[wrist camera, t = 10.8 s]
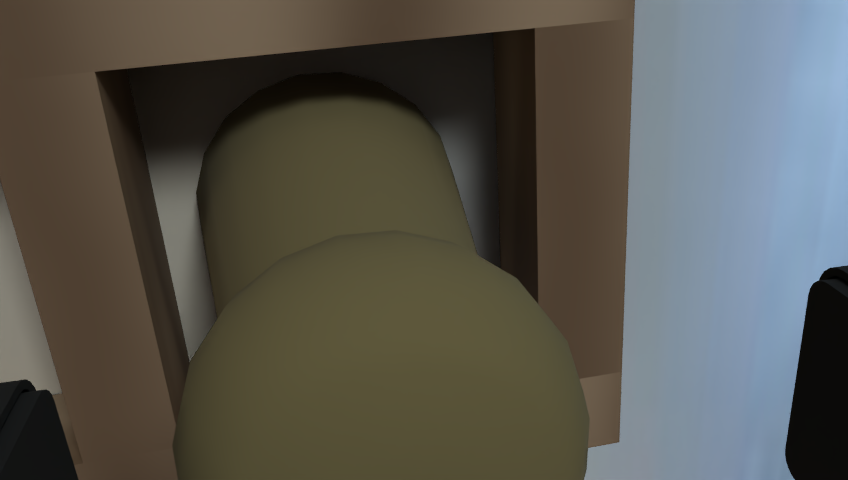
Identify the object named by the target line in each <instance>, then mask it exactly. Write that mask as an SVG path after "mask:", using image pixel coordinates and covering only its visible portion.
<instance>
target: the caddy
mask: <svg viewBox="0 0 848 480" xmlns="http://www.w3.org/2000/svg"><path fill="white" fill-rule="evenodd" d="M634 8H635V0H0V180H1V184H2V187H3V191H4V194H5V198H6V201H7V204H8V208H9V211H10V215H11V218H12V222H13V225H14V228H15V232H16V235H17V239H18V242H19V246H20V249H21V252H22V256H23V259H24V263H25V266H26V269H27V273H28V276H29V280H30V283H31V287H32V290H33V293H34V297H35V300H36V304H37V307H38V311H39V314H40V317H41V321H42V324H43V328H44V331H45V335H46V338H47V341H48V345H49V348H50V352H51V355H52V359H53V362H54V365H55V369H56V372H57V376H58V379H59V383H60V386H61V389H62V394H56V395H52V396H53V399H54V401H55V404H56V408H57V411H58V414H59V417H60V421H61V424H62V427H63V430H64V434H65V437H66V440H67V443H68V447H69V450H70V453H71V457H72V460H73V463H74V466H75V470H76V473H77V476H78V479H79V480H178V476H177V471H176V465H175V460H174V454H173V448H172V444H173V439H174V434H175V429H176V424H177V419H178V414H179V409H180V405H181V400H182V396H183V391H184V387H185V382H186V377H187V373H188V368H189V364H190V362H189V358H188V353H187V348H186V344H185V339H184V334H183V330H182V325H181V320H180V316H179V311H178V306H177V302H176V297H175V292H174V287H173V283H172V278H171V273H170V269H169V264H168V259H167V255H166V250H165V245H164V241H163V236H162V231H161V227H160V222H159V217H158V213H157V208H156V203H155V199H154V194H153V189H152V185H151V180H150V175H149V170H148V166H147V161H146V156H145V152H144V147H143V142H142V138H141V133H140V128H139V124H138V119H137V114H136V110H135V105H134V100H133V96H132V91H131V86H130V82H129V77H128V72H127V68H137V67H147V66H158V65H168V64H178V63H188V62H198V61H208V60H218V59H228V58H238V57H248V56H258V55H268V54H278V53H289V52H299V51H309V50H319V49H329V48H339V47H349V46H359V45H369V44H379V43H389V42H399V41H409V40H420V39H430V38H440V37H450V36H460V35H470V34H480V33H490V32H493V48H494V79H495V109H496V140H497V170H498V201H499V231H500V262H501V269H502V270H504V271H505V272H507V273H509V274H510V275H512V276H514V277H515V278H517V279H518V280H519V281H520V283H521V284H522V285H523V286H524V287H525V289H526V290H527V291H528V292H529V294H530V295H531V296H532V297H533V298H534V300H535V301H536V302H537V303H538V305H539V306H540V307H541V308H542V309H543V311H544V312H545V313H546V314H547V316H548V317H549V318H550V319H551V321H552V322H553V323H554V324H555V326H556V327H557V328H558V330H559V331H560V332H561V334H562V335H563V336H564V337H565V339H566V340H567V341H568V345H569V348H570V351H571V354H572V357H573V360H574V363H575V367H576V370H577V373H578V376H579V379H580V382H581V386H582V389H583V392H584V396H585V400H586V405H587V409H588V413H589V417H590V423H589V438H588V448H590V447H596V446H601V445H606V444H612V443H617V442H619V433H620V405H621V377H622V348H623V320H624V292H625V263H626V235H627V207H628V178H629V150H630V121H631V93H632V65H633V36H634Z"/></svg>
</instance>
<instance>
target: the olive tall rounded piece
mask: <svg viewBox="0 0 848 480" xmlns="http://www.w3.org/2000/svg"><path fill="white" fill-rule="evenodd" d="M196 194H197V201H198V208H199V215H200V222H201V229H202V235H203V241H204V246H205V252H206V258H207V263H208V269H209V274H210V280H211V285H212V291H213V297H214V302H215V308H216V313H217V320H216V322H215V323H214V325H213V327H212V328H211V330H210V331H209V333H208V334H207V336H206V337H205V339H204V341H203V342H202V344H201V345H200V347H199V348H198V350H197V351H196V353H195V355H194V356H193V358H192V359H191V361H190V364H189V368H188V373H187V377H186V382H185V387H184V391H183V396H182V400H181V405H180V409H179V414H178V419H177V424H176V429H175V434H174V439H173V444H172V448H173V454H174V460H175V465H176V471H177V476H178V480H584V477H585V473H586V469H587V453H588V438H589V423H590V417H589V413H588V409H587V405H586V400H585V396H584V392H583V389H582V386H581V382H580V379H579V376H578V373H577V370H576V367H575V363H574V360H573V357H572V354H571V351H570V348H569V345H568V341H567V340H566V339H565V337H564V336H563V335H562V334H561V332H560V331H559V330H558V328H557V327H556V326H555V324H554V323H553V322H552V321H551V319H550V318H549V317H548V316H547V314H546V313H545V312H544V311H543V309H542V308H541V307H540V306H539V305H538V303H537V302H536V301H535V300H534V298H533V297H532V296H531V295H530V294H529V292H528V291H527V290H526V289H525V287H524V286H523V285H522V284H521V283H520V281H519V280H518V279H517V278H515V277H514V276H512V275H510V274H509V273H507V272H505V271H504V270H502V269H500V268H498V267H497V266H495V265H493V264H492V263H490V262H488V261H487V260H485V259H483V258H481V257H480V256H478V254H477V251H476V248H475V244H474V241H473V238H472V234H471V231H470V228H469V225H468V221H467V218H466V215H465V211H464V208H463V205H462V201H461V198H460V195H459V191H458V188H457V185H456V182H455V178H454V175H453V172H452V169H451V166H450V163H449V160H448V157H447V155H446V152H445V149H444V146H443V143H442V140H441V138H440V135H439V134H438V133H437V132H436V130H435V129H434V128H433V127H432V125H431V124H430V123H429V121H428V120H427V119H426V118H425V116H424V115H423V114H422V113H421V111H420V110H419V109H418V108H417V106H416V105H415V104H413V103H412V102H410V101H408V100H407V99H405V98H404V97H402V96H401V95H399V94H398V93H396V92H395V91H393V90H392V89H390V88H388V87H387V86H385V85H384V84H382V83H379V82H376V81H372V80H368V79H364V78H360V77H357V76H353V75H349V74H345V73H341V72H339V73H322V74H305V75H297V76H294V77H292V78H289V79H287V80H284V81H281V82H279V83H276V84H274V85H271V86H269V87H266V88H264V89H261V90H259V91H257V92H256V93H255V94H254V95H252V96H251V97H250V98H249V99H248V100H246V101H245V102H244V103H243V104H242V105H240V106H239V107H238V108H237V109H236V110H234V111H233V112H232V113H231V114H230V115H228V116H227V117H226V118H225V120H224V121H223V123H222V125H221V126H220V128H219V130H218V131H217V133H216V135H215V136H214V138H213V140H212V141H211V143H210V145H209V146H208V148H207V150H206V151H205V153H204V157H203V162H202V167H201V172H200V177H199V182H198V186H197V191H196Z"/></svg>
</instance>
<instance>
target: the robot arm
mask: <svg viewBox="0 0 848 480" xmlns="http://www.w3.org/2000/svg"><path fill="white" fill-rule="evenodd" d="M785 456H786V462H787V465H788V468H789V470H790V472H791V474H792V476H793V477H794V479H795V480H848V266H841V267H834V268H829V269H827V270H826V271H824V273H823V274H822V276H821V277H820V280H819V281H817V282H815V283H814V284H813V285H812V286H811V288H810V291H809V295H808V302H807V309H806V315H805V322H804V329H803V335H802V342H801V349H800V355H799V362H798V369H797V375H796V382H795V389H794V395H793V402H792V408H791V415H790V422H789V428H788V435H787V442H786V449H785ZM0 480H79V479H78V476H77V473H76V470H75V466H74V463H73V460H72V457H71V453H70V450H69V447H68V443H67V440H66V437H65V434H64V430H63V427H62V424H61V421H60V417H59V414H58V411H57V408H56V404H55V401H54V399H53V396H52V394H51V393H50V392H49V391H48V390H38V391H36V389H35V387H34V386H33V385H32V383H31V382H30V381H28V380H19V381H11V382H4V383H0Z"/></svg>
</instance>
